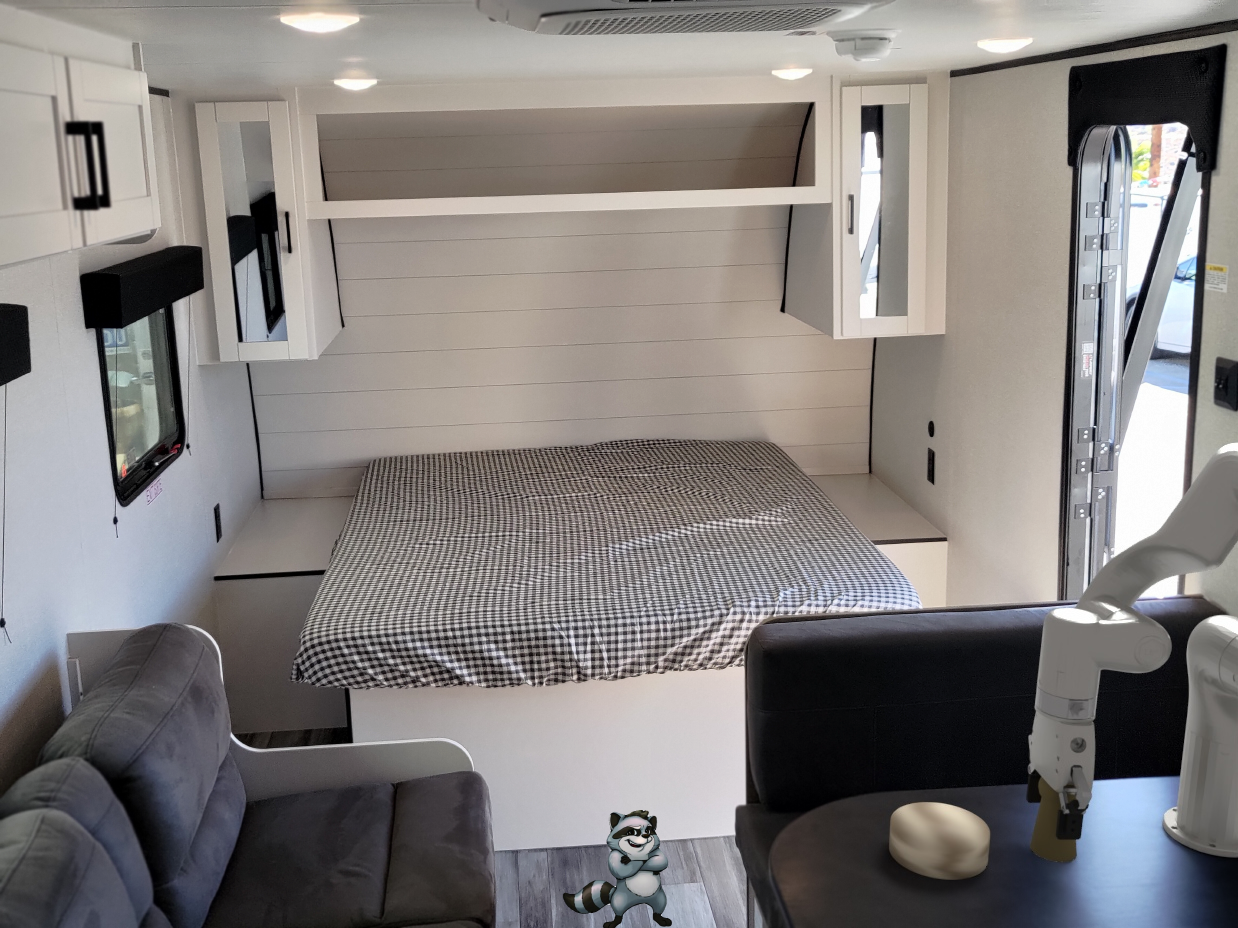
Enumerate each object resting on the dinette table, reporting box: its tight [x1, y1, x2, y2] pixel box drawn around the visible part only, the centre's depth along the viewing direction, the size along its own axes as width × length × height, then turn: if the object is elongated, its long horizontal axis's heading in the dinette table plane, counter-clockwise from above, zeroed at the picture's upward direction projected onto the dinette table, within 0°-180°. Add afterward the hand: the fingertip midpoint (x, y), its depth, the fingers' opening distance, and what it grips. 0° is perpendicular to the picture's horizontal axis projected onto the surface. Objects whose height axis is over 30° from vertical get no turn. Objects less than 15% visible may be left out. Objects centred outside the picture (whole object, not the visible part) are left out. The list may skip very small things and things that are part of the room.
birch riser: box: [888, 801, 991, 881], centre depth 156 cm, size 13×13×4 cm
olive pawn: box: [1029, 777, 1078, 863], centre depth 156 cm, size 6×6×11 cm
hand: (1052, 819), depth 157 cm, fingers open, 9 cm apart
